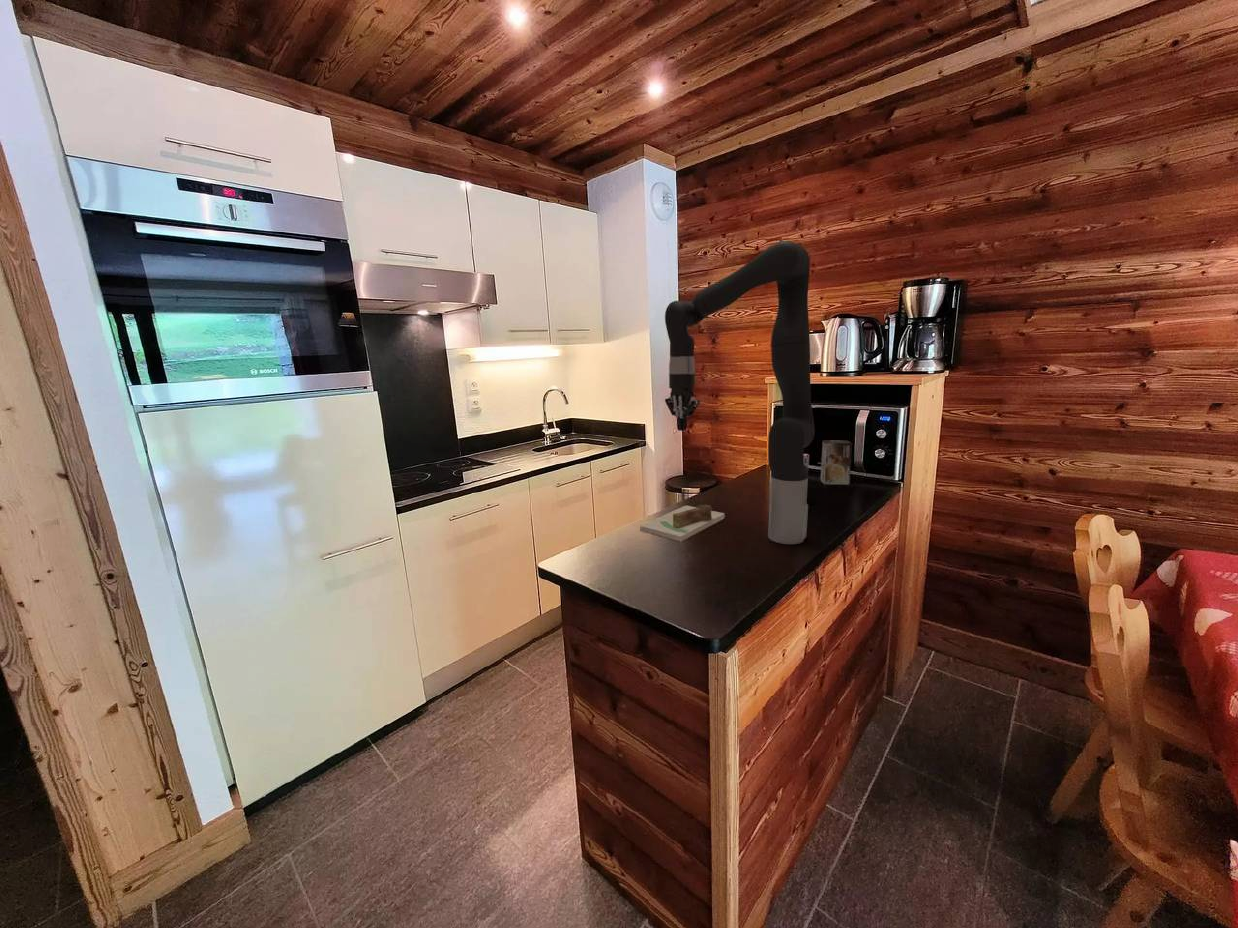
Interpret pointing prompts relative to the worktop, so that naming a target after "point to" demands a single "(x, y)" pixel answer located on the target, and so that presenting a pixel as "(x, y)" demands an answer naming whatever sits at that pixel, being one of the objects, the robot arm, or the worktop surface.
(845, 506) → the worktop surface
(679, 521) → the brown wooden block
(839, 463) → the coffee box
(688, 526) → the dial board
